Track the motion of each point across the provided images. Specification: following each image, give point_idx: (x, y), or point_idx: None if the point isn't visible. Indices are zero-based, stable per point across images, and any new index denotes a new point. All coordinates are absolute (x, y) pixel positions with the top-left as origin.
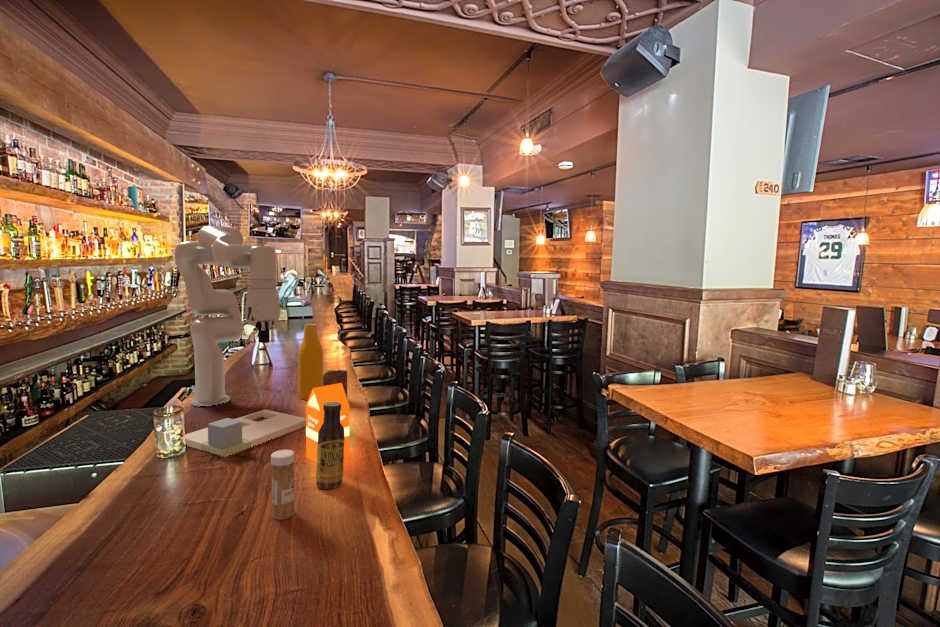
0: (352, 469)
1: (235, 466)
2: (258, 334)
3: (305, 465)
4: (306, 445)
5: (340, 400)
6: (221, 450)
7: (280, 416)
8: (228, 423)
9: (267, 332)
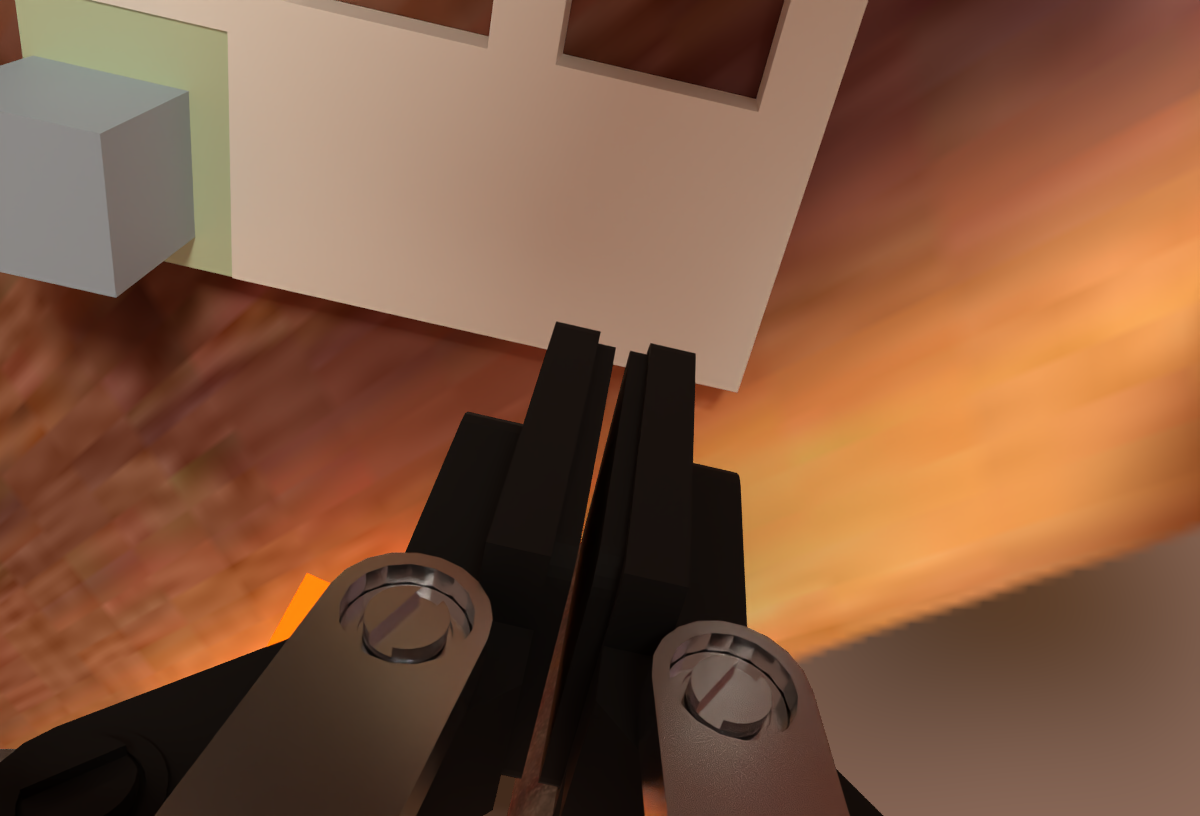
0: None
1: (43, 344)
2: (427, 502)
3: (236, 605)
4: (283, 617)
5: None
6: None
7: (736, 158)
8: (27, 239)
9: (544, 747)
